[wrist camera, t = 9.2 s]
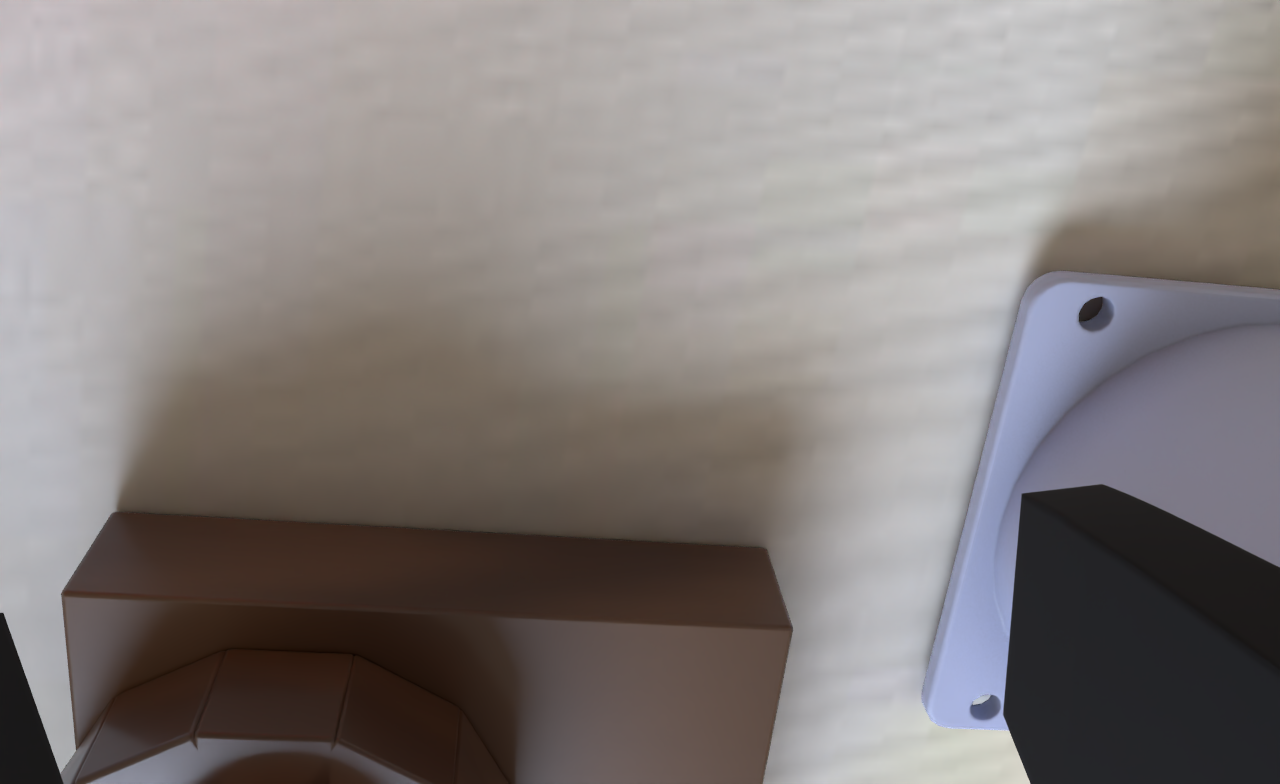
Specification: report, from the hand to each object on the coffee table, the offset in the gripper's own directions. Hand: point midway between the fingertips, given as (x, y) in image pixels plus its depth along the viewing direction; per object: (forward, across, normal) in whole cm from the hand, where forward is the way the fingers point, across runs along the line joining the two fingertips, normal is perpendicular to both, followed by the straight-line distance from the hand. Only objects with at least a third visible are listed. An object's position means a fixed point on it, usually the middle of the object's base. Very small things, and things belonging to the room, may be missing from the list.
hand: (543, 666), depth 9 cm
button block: (+9, +2, +8) cm, 12 cm away
